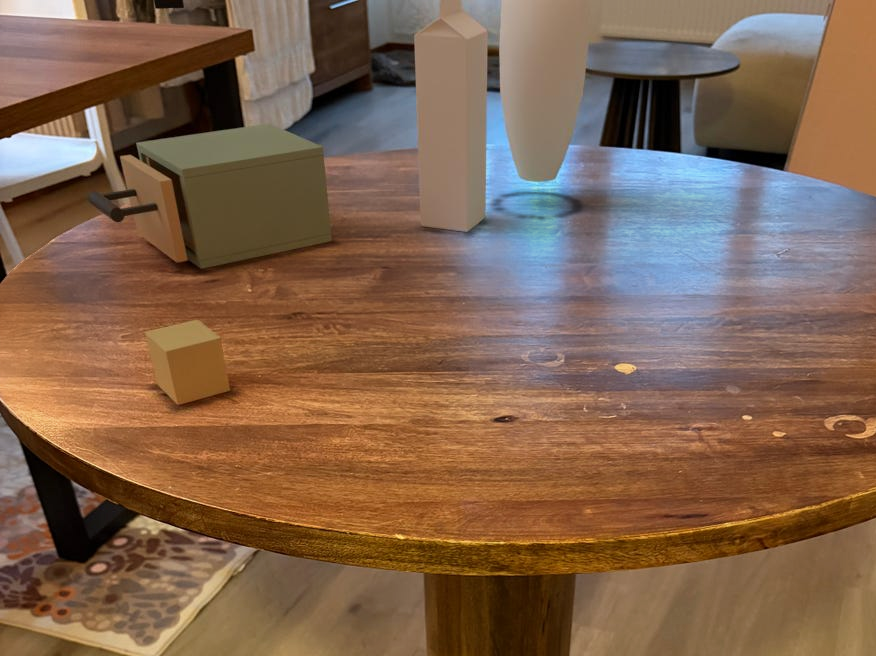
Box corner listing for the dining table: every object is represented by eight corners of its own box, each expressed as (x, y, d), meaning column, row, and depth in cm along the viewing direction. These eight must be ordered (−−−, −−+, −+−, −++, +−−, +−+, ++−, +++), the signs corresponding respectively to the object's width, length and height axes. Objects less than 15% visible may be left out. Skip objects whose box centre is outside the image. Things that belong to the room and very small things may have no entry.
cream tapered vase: (533, 185, 120) (542, -16, 106) (595, 202, 114) (613, -8, 100) (477, 201, 114) (479, -9, 100) (539, 220, 109) (550, 1, 94)
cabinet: (201, 269, 96) (182, 169, 89) (156, 236, 103) (135, 142, 97) (332, 241, 103) (323, 146, 96) (281, 212, 110) (269, 123, 104)
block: (177, 405, 73) (165, 351, 70) (157, 384, 75) (144, 331, 73) (230, 390, 75) (220, 337, 72) (208, 371, 77) (197, 318, 75)
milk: (485, 218, 109) (490, -6, 95) (467, 233, 105) (468, 1, 91) (439, 212, 111) (436, -10, 96) (418, 226, 107) (412, -3, 92)
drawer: (130, 272, 92) (110, 189, 87) (93, 241, 99) (72, 163, 94) (302, 237, 101) (293, 159, 96) (257, 210, 108) (246, 137, 103)
